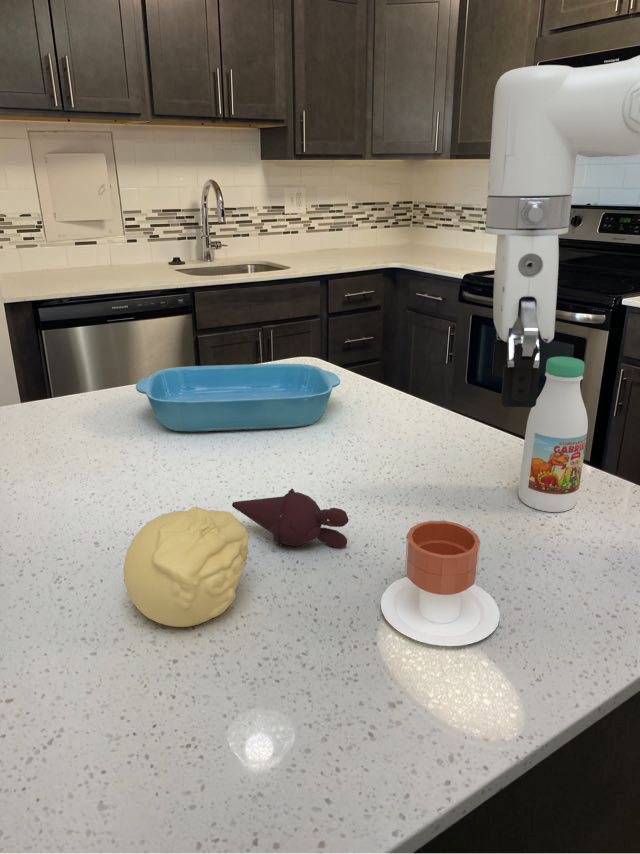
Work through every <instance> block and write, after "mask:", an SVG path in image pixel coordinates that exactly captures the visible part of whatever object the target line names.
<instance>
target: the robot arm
mask: <svg viewBox="0 0 640 854" xmlns="http://www.w3.org/2000/svg"><path fill="white" fill-rule="evenodd" d="M492 104H493V106H492V120H491V121H492V123H491V138H490V155H489V166H488V167H489V169H488V181H487V197H486V198H487V199H486V213H485V229H484V233H485V234H490V235H495V236H496V235H497V236H496V247H495V248H496V249H495V260H494V261H495V262H494V274H493V275H494V277H493V297H492V301H493V303H492V304H493V308H492V312H493V315H492V316H493V318H492V319H493V324H494V328H495V330H496V335H495V336H496V337H495V338H496V339H494V344H493V357H492V370H491V372H492V373H491V374H492V376H493V377H494V378H502V383H501V384H502V386H501V396H500V403H501V406H502V407H506V408H532V407H534V406H535V405H536V400H537V398H538V390H539V389H538V387H539V379H540V369H541V367H540V339H541V340H542V341H543V342H544V343H547V344H549V343H550V342H552V341H553V340H554V338H555V329H556V328H555V327H556V312H557V311H556V309H557V299H558V298H557V296H558V279H559V257H560V253H559V252H560V251H559V250H560V249H559V247H560V246H559V235H565V234H568V233H569V228H570V217H571V207H572V200H573V189H574V180H575V172H576V171H575V170H576V163H577V155H579V156H582V157H585V158H586V157H587V158H602V157H613V158H614V157H629V156H631V157H632V156H637V155H640V54H639V55H637V56H634V57H631V58H629V59H626V60H621V61H616V62H610V63H604V64H597V65H590V66H582V67H573V66H570V65H561V64H544V65H543V64H542V65H530V66H529V65H528V66H524V67H518V68H514V69H511V70H508V71H505V72H504V73H503V74H502V75H501V76H500V77H499V79H498V80H497V82H496V84H495V87H494V94H493V103H492Z"/></svg>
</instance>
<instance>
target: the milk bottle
mask: <svg viewBox="0 0 640 854" xmlns="http://www.w3.org/2000/svg"><path fill="white" fill-rule="evenodd" d="M585 366H586V365H585V362H584V361H583V359H579V358H576V357H572V356H552V357H549V358H547V360H546V364H545V372H544V376H545V377H546V378H545V383H544V386H543V388H542V390H541V392H540V394H539V396H537V400H536V405H535V406H534V407H531V408H530V411H529V414H528V417H527V422H526V427H525V432H524V433H525V434H524V442H523V449H522V457H521V467H520V474H519V475H520V476H519V482H518V484H519V485H518V496H519V500H520V501H521V502H522V503H523V504H524V505H526V506H528V507H530V508H532V509H535V510H538V511H543V512H549V513H562V512H566V511H570V510H572V509H573V508H574V507H575V506H576V505H577V502H578V497H579V491H580V484H581V477H582V473H583V471H582V470H583V465H584V464H583V463H584V458H585V451H586V444H587V437H588V428H589V426H588V424H589V421H588V420H589V419H588V413H587V409H586V406H585V403H584V400H583V397H582V391H581V381H582V380H583V379H584V376H583V375H584V373H585Z"/></svg>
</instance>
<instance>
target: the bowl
mask: <svg viewBox="0 0 640 854" xmlns="http://www.w3.org/2000/svg"><path fill="white" fill-rule="evenodd" d="M405 541H406V542H405V563H404V571H405V575H406V577H408V578H409V580H410V581H411V582H412V583H413V584H415V585H416V586H417V587H419V588H420V589H422V590H424V591H427V592H430V593H433V594H440V595H451V594H457V593H460V592H462V591H465V590H467V589H468V588H470V587H471V586H472V585H474V584H475V585H476V581H477V577H478V569H479V559H480V551H481V540H480V538H479V536H478V533H476V532H475V531H474V530H472V529H471V528H470V527H467V526H465V525H462V524H460V523H458V522H453V521H447V520H428V521H427V520H426V521H423V522H419V523H417V524H416V525H413V526H411V528H410V529H409V530H408V531H407V533H406V540H405Z"/></svg>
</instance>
